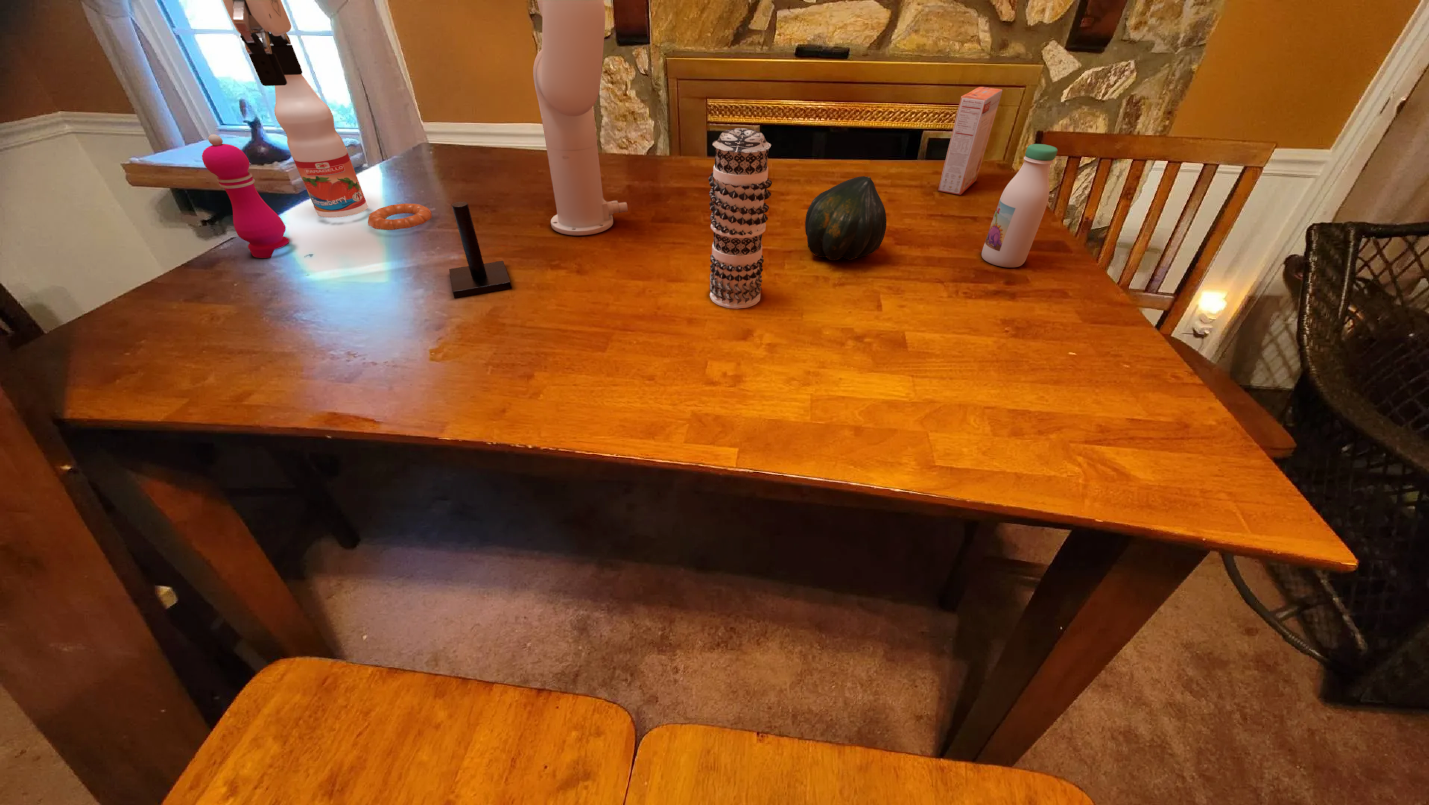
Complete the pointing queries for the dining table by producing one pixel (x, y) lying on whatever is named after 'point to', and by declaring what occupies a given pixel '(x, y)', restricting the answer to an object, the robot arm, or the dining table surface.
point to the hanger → (474, 261)
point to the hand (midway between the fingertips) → (283, 79)
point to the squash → (846, 220)
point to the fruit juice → (318, 150)
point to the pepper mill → (244, 199)
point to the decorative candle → (738, 217)
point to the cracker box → (969, 139)
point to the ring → (380, 221)
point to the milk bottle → (1020, 209)
